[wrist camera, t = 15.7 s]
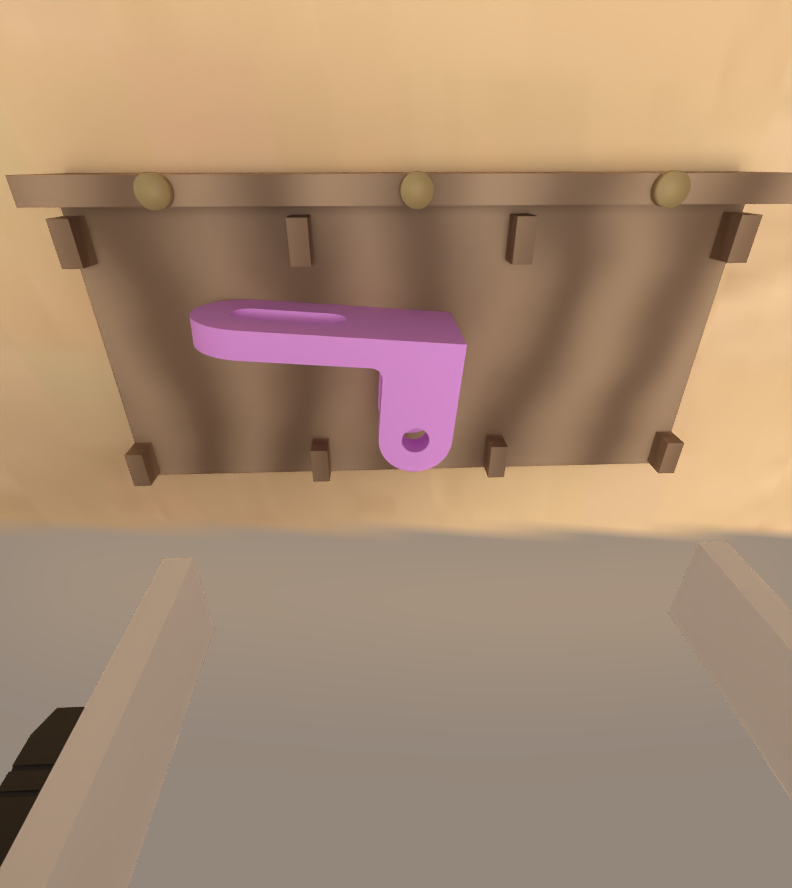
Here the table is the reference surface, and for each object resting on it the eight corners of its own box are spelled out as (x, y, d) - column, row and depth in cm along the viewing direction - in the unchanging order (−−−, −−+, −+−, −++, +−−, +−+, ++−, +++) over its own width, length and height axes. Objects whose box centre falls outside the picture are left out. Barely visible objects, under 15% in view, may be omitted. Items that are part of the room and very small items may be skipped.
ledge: (152, 464, 32) (118, 511, 28) (63, 171, 24) (-6, 172, 19) (652, 453, 33) (693, 496, 29) (739, 169, 25) (817, 170, 20)
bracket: (466, 344, 22) (447, 472, 25) (450, 312, 27) (435, 423, 30) (171, 326, 21) (193, 462, 24) (209, 296, 26) (222, 413, 29)
